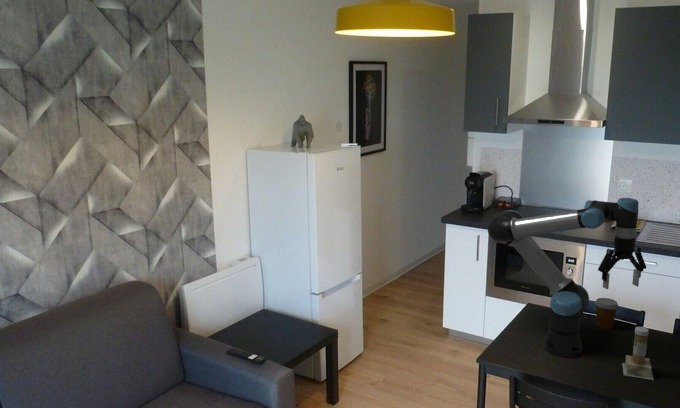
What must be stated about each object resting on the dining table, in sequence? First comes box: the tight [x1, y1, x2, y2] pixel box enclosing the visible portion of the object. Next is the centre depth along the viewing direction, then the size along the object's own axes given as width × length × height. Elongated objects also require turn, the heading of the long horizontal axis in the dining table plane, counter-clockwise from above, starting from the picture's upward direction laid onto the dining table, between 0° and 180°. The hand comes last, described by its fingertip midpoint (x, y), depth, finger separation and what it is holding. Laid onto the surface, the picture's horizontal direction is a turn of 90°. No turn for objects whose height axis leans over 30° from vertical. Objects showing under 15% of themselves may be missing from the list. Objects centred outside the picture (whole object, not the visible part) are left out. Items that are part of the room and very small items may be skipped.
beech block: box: [624, 354, 652, 378], centre depth 217 cm, size 8×8×4 cm
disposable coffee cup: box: [594, 297, 619, 330], centre depth 257 cm, size 10×10×12 cm
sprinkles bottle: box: [632, 326, 650, 364], centre depth 215 cm, size 5×5×14 cm
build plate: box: [621, 362, 655, 381], centre depth 218 cm, size 10×10×1 cm
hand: (620, 286), depth 233 cm, fingers open, 13 cm apart
